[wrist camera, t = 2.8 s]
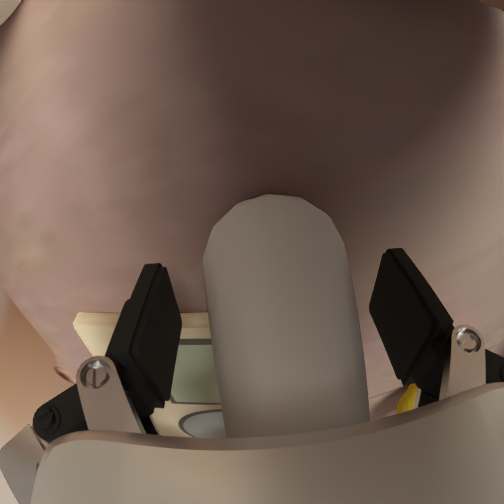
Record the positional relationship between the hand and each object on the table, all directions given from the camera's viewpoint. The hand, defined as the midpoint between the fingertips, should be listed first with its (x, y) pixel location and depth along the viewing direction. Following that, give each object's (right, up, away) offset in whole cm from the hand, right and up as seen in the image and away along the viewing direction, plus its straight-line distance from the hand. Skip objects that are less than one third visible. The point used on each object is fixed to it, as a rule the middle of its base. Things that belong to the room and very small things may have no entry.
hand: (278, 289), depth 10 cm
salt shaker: (0, +2, +3) cm, 4 cm away
